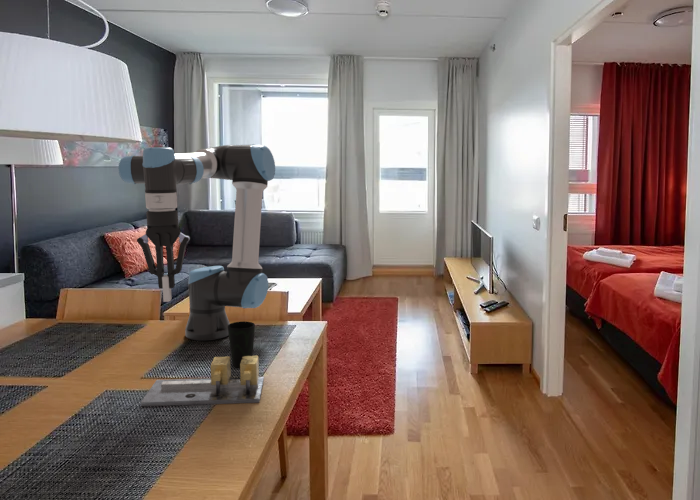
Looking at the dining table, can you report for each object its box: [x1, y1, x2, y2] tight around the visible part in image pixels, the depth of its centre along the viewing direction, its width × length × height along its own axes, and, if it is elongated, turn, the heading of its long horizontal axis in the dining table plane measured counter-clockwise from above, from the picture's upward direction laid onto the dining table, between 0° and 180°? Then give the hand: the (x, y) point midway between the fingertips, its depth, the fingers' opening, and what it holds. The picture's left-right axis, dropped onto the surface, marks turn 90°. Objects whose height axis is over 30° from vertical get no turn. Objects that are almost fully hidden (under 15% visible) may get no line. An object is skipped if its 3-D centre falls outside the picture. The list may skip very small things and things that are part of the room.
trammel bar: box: [161, 355, 260, 395], centre depth 137 cm, size 10×24×7 cm, turn 95°
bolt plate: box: [140, 376, 265, 407], centre depth 138 cm, size 14×28×1 cm, turn 95°
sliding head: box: [210, 355, 232, 394], centre depth 137 cm, size 10×4×7 cm, turn 5°
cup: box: [228, 320, 256, 370], centre depth 157 cm, size 8×8×12 cm
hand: (167, 300), depth 141 cm, fingers closed
